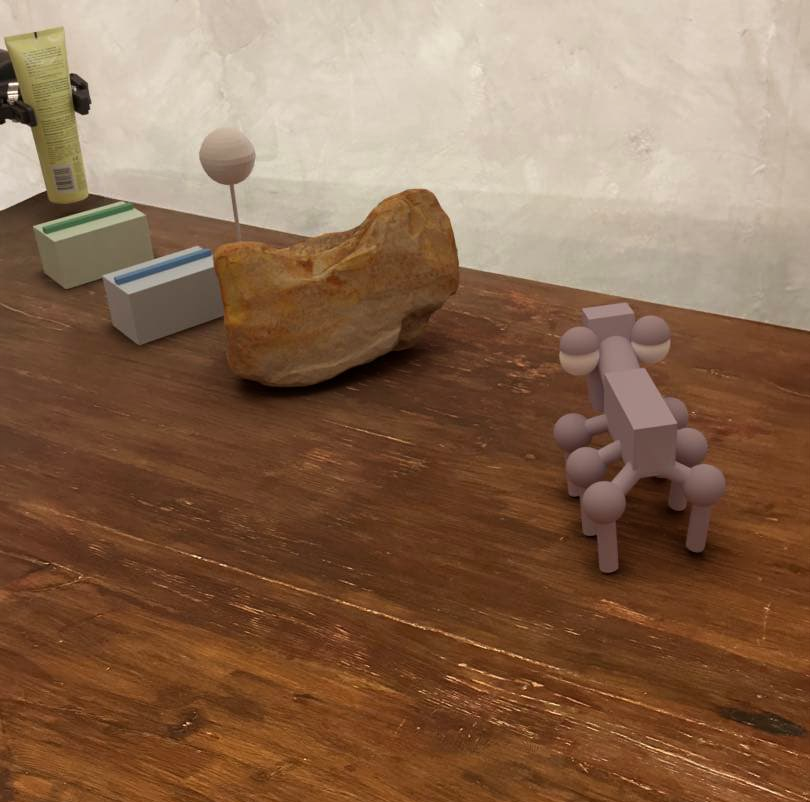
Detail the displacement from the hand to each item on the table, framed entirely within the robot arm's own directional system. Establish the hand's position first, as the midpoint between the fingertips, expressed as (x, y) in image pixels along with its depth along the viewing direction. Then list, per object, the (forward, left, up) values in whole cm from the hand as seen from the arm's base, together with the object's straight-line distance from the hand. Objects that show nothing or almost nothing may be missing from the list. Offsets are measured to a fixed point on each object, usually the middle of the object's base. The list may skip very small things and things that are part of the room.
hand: (59, 111), depth 132 cm
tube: (-1, +2, -11) cm, 11 cm away
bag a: (+11, -31, -13) cm, 35 cm away
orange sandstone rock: (+27, -41, -14) cm, 51 cm away
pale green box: (+3, -15, -13) cm, 20 cm away
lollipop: (+19, -18, -14) cm, 29 cm away
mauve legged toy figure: (+46, -71, -14) cm, 86 cm away
